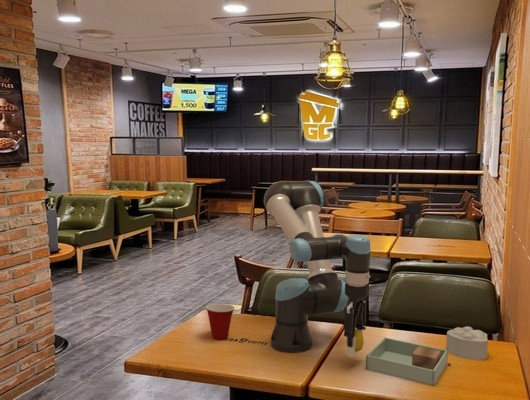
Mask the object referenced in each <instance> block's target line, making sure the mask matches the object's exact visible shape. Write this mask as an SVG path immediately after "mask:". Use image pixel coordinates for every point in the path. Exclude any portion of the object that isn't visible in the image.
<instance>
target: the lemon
mask: <svg viewBox="0 0 530 400" xmlns="http://www.w3.org/2000/svg"><path fill="white" fill-rule="evenodd" d="M356 329H357V328H355V337H356V341H355V354H356V353H357V352H360V351H361V349H363V347H364V336H362V334H361V333H360V332H359V331H357V330H356ZM345 339H346V344H347V338H345Z"/></svg>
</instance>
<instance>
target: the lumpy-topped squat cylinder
mask: <svg viewBox="0 0 530 400" xmlns="http://www.w3.org/2000/svg"><path fill="white" fill-rule="evenodd" d="M445 343H446V345H445V350H448V354H451V355H453V356H455V357H459V358H462V359H468V360H475V361H484V360H487V359H488V346H489V345H488V343H489V339H488V334H487V333H485V332H484V331H482V330H480V329H473V327H471V326H469V325H468V326H463V327H459V326H458V327H455V328H453V329H449V330H447V332H446V342H445Z"/></svg>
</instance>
